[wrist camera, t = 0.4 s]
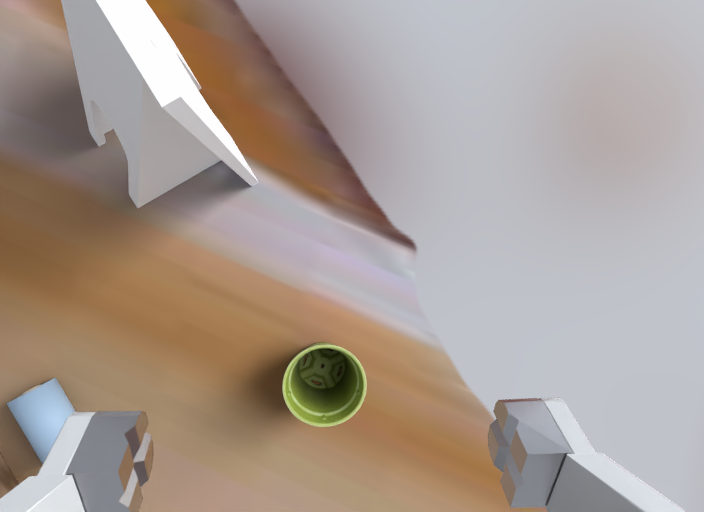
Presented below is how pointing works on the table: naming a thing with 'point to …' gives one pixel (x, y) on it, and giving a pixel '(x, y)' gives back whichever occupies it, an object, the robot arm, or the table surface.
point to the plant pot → (324, 385)
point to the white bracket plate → (145, 97)
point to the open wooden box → (6, 478)
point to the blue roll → (42, 415)
